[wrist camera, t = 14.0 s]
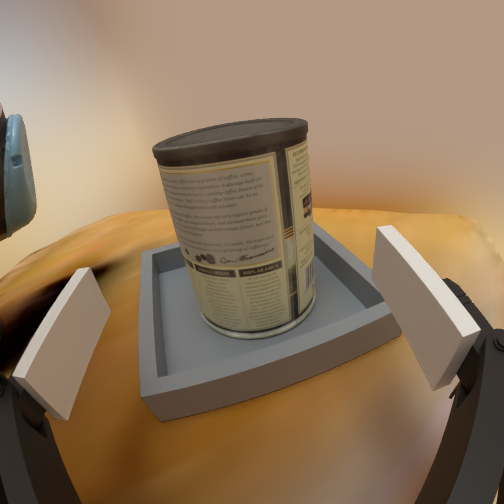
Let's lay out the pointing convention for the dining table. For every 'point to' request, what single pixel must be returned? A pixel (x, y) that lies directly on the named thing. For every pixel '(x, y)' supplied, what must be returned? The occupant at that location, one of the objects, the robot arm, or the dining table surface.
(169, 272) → the tray
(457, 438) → the robot arm
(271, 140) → the coffee can
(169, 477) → the dining table surface
